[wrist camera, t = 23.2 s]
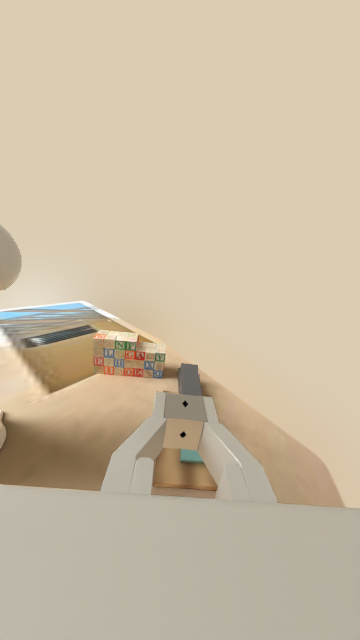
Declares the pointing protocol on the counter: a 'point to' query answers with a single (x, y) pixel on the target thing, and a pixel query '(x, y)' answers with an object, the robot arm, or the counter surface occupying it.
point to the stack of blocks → (127, 355)
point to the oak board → (181, 471)
